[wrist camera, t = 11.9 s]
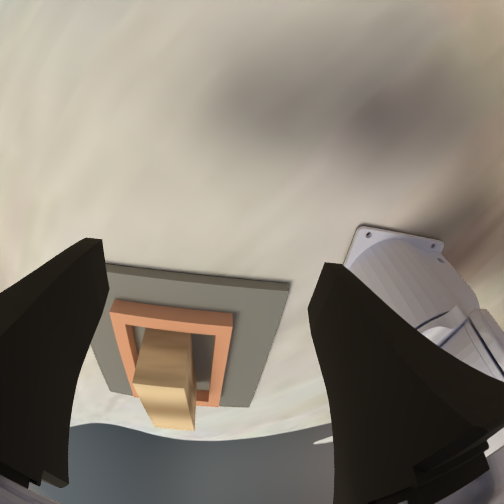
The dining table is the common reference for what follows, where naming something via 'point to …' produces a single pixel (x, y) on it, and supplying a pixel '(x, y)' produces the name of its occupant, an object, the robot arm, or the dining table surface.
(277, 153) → the dining table surface
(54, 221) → the dining table surface
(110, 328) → the socket plate
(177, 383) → the oak block
